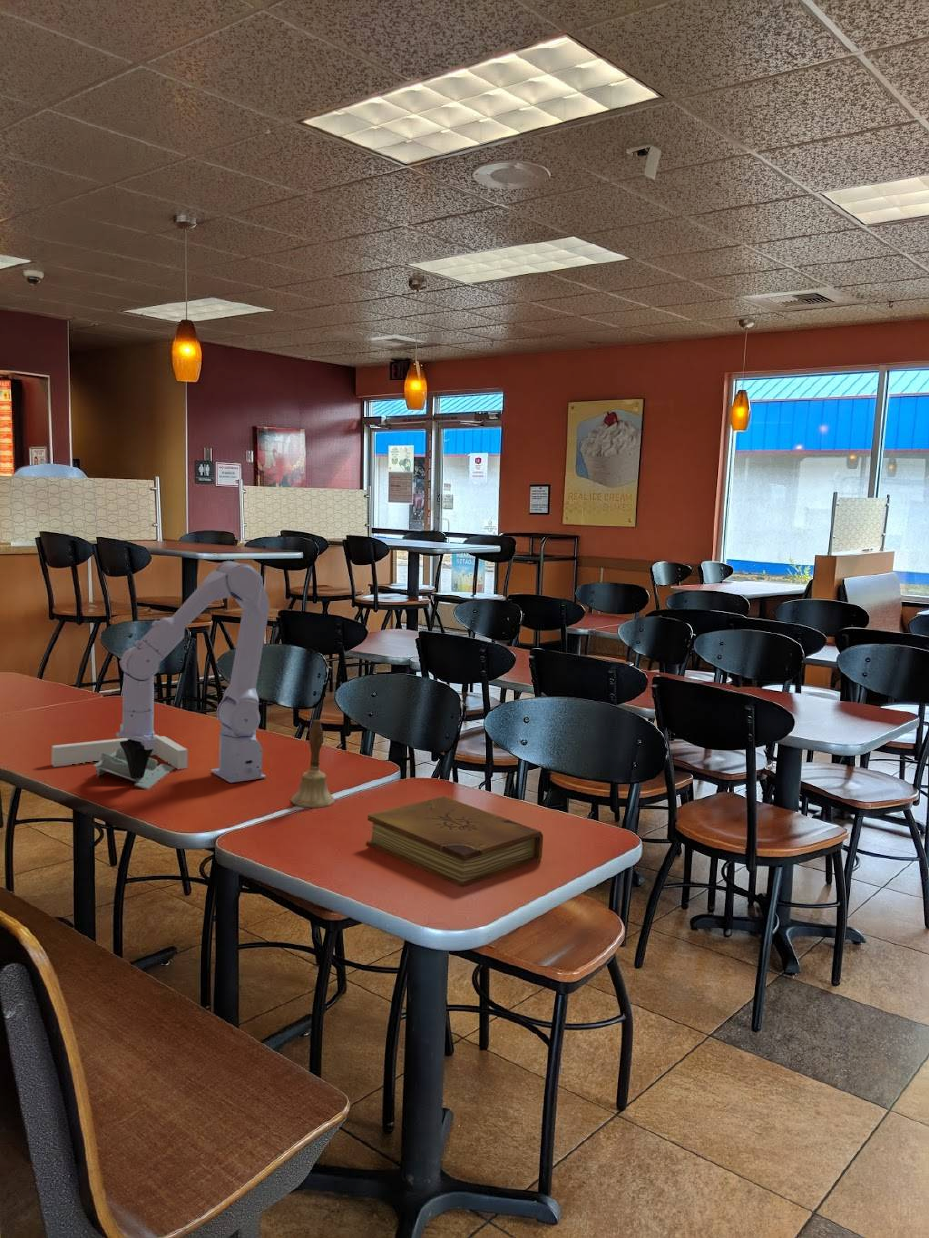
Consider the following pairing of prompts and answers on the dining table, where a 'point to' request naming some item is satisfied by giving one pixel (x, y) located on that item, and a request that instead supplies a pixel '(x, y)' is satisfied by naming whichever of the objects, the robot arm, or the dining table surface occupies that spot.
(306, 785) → the hand bell
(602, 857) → the dining table surface
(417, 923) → the dining table surface
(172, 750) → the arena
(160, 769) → the metal bracket
